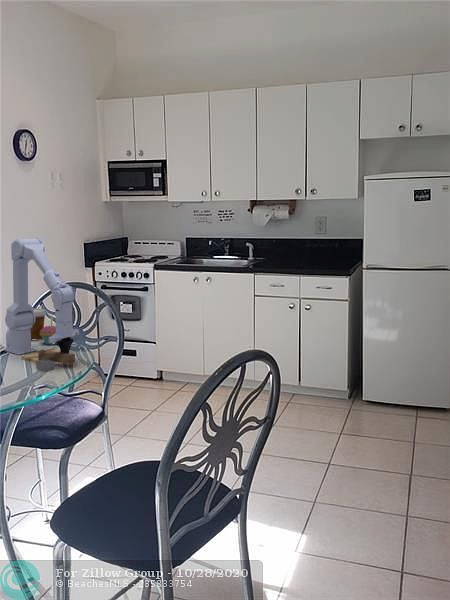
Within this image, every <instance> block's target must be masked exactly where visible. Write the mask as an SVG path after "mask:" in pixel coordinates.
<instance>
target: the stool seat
mask: <svg viewBox="0 0 450 600" xmlns="http://www.w3.org/2000/svg"><path fill="white" fill-rule="evenodd" d="M46 351H54V352H61V351H60V349H56V348H49V349H46ZM69 353H70V352H69ZM70 354H72V352H71V353H70ZM21 359H22V360H24V361H28V362H31V363H34V364H36V360H39V359H38V351H35V352H30V353H26V354H21Z"/></svg>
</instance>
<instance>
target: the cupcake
mask: <svg viewBox="0 0 450 600" xmlns="http://www.w3.org/2000/svg"><path fill="white" fill-rule="evenodd" d="M53 318H54V317H53V314H51V315H50V325H48V326H47V325H46V326H44V328H43V329H41V330H40V336H41V337H42V338H43V339H42V340H43V341H44V344H45V343H46V344H45V345H47V344H53V343H49V337H51V336H53V335H54V334H55V333H56V325H53ZM55 343H56V342H55ZM56 344H57V343H56ZM53 345H54V344H53Z"/></svg>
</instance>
